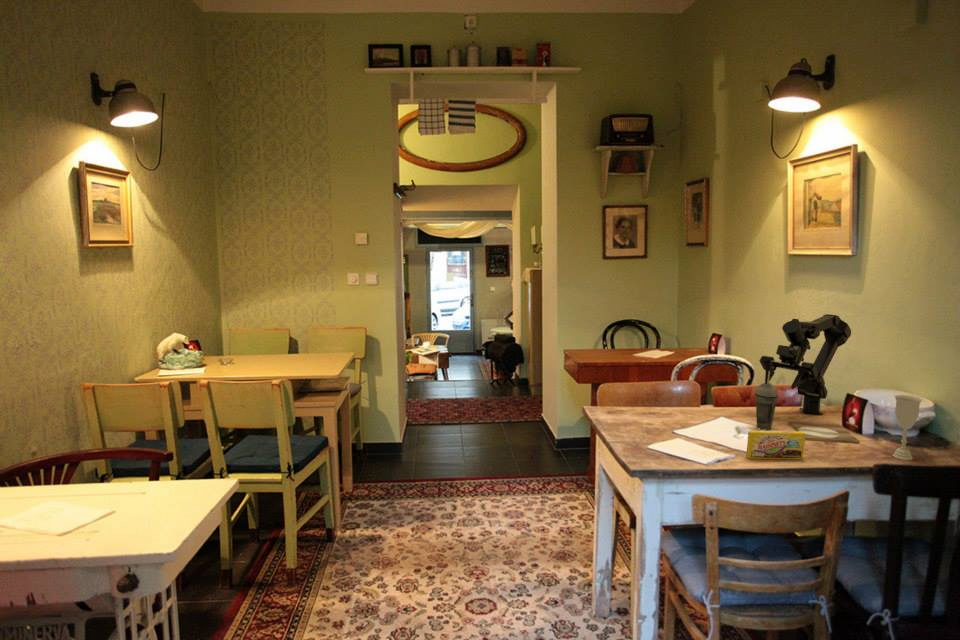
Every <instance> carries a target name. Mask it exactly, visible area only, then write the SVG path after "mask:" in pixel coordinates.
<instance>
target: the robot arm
mask: <svg viewBox="0 0 960 640" xmlns="http://www.w3.org/2000/svg"><path fill="white" fill-rule="evenodd" d="M781 329H782V332H783V333H784V335H785V338H786V340H787V341H788V342H789V345H782V344H778V346H777V349H776V352H775V354H776V355H778V359H779V361H777V360H775V358H774V356H769V355H768V356H767V355H762V356H760V358H759V360H758V362H759V363H760V365H761V367H762V369H763V370H764V371H765V374H764V375H765V379H764V383H767V380H768V372H769V371H770V377H769V382H770V381H771V380H772V378H773V377H774V375H775V373H776V372H775V371H776V370H777V368H780V369H785V370H789V371H795V372H797V374H796V376H795V378H794V380H793V381H792V383H791V386H790V389H791V390H794V389H797V394H798V395H800V396H802V397H803V398H802V407H799V410H800V411H801V412H802V413H803V414H805V415H806V414H808V415H823V414H824V413H823V412H822V411H821V410H820V409H821V401H822V399H825V400H826V399H827V396H828V393H829V392H828V389H827V387H826V385H825V384H826V382H825V378H824V376H825V374H826V372H827V370H828V368H829V366H830V365H831V362H832V360H833V357H834V356H835V354H836V352H837V351H838V348H839V347H841V346H843V345H845V344H846V343H847V341H848V340H849V338H850V337H851V335H852V329H851V327H850V325H849V324H848V323H847V322H846V321H844V320H842V319H841V318H840V316H839V315H837V314H828V313H826V314H823V316H821V317H818V318H816V319H813V320H811V321H800V319H798V318H792V320H789V321H787V322H786V323H784V324H783V325H782V327H781ZM821 332H823V336H824V342H823V344H822V346H821V348H820V350H819V351H818V354H817V356H816V357H815V360H814V361H813V362H806V361H805V358H804V357H805V355H806V352H807V350H811V343H810V340H816V339H817V338H819V337H820V335H821Z"/></svg>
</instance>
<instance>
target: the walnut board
mask: <svg viewBox="0 0 960 640" xmlns="http://www.w3.org/2000/svg"><path fill="white" fill-rule="evenodd" d="M788 424H789V425H790V426H791V427H792V428H793V429H794V431H803V432H804V433H805V441H813V442H814V441H816V442H829V443H831V442H832V443H845V444H847V443H848V444H860V440H859V439H858V438H857V437H855V436H854V434H852V433H851V432H849V431H848V430H847V429H846V428H844V427H843V426H842V425H841V424H840V423H838V422H837V423H832V422H823V421H822V422H819V421H818V422H817V421H803V420H802V421H801V420H788Z"/></svg>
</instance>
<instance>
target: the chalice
mask: <svg viewBox="0 0 960 640" xmlns="http://www.w3.org/2000/svg"><path fill="white" fill-rule="evenodd" d="M894 398H895V401H896V402H895V412H894V414H895V417H896V420H897V422H898V425H899V427H900V428H901V429H902V430H903V432H902V434H901V436H902V438H901V440H900V442H901V446H900V447H898V448H896V449H895V451H894V453H892V457H893V456H894V458H896V459H900V460H905V461H909V460H910V461H911V460H913V456H912V454H911V451H910V450H909V449H907V447H906V444H907V443H908V440H907V438H908V436H909V435H908V430H909V429H912V427H913V425H914V424H915V423H916V421H917V419H918V418H919V415H920V405H921V402H922V401H923V399H922V398H921V397H918V396H914V395H907V394H906V395H905V394H898V395H895V396H894Z"/></svg>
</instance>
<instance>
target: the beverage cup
mask: <svg viewBox="0 0 960 640" xmlns="http://www.w3.org/2000/svg"><path fill="white" fill-rule="evenodd" d="M769 377H770V371H769V372H768V380H767V383H765V382H763V383H761V384H759V385H758V386H757V387H756V389H755V392H754V397H755V398H754V399H755V405H756V406H755V409H756V410H755V412H756V413H755V414H756V415H755V417H756V419H755V420H756V428H757V427H758V428H760V429H759V430H762V429H766V430H765V431H772V426H773V422H774V416H775V411H776V406H777V401H778V397H779V393H778V390H777V388H776V387H775V385H773V384H772V383H770V381H769ZM758 428H757V429H758Z"/></svg>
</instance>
